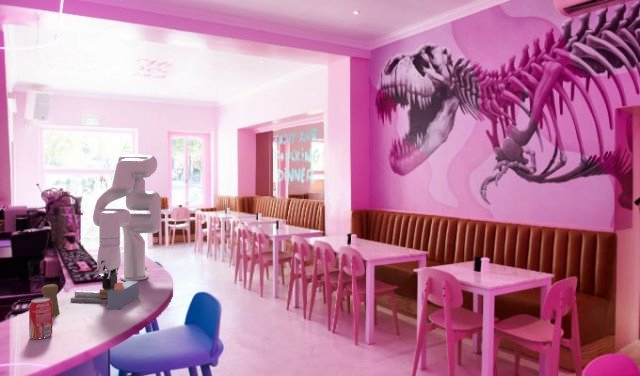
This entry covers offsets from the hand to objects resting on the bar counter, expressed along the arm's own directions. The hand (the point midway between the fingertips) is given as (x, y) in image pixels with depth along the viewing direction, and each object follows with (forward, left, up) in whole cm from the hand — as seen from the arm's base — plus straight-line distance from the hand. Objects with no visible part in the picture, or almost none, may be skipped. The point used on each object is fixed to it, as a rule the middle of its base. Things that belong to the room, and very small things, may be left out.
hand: (109, 286), depth 178 cm
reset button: (+6, +7, -3) cm, 10 cm away
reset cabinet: (+2, +7, -6) cm, 9 cm away
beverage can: (+38, -2, -6) cm, 39 cm away
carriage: (0, 0, -4) cm, 4 cm away
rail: (0, -5, -6) cm, 8 cm away
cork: (+18, -13, -6) cm, 23 cm away
